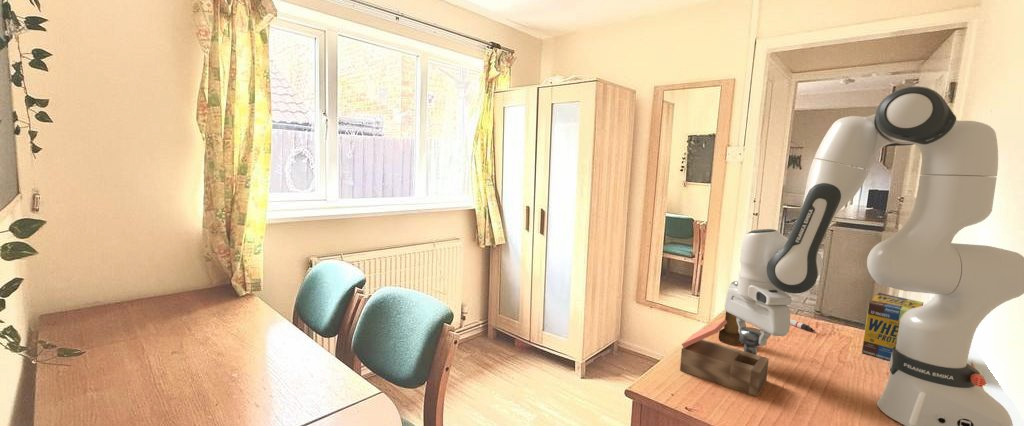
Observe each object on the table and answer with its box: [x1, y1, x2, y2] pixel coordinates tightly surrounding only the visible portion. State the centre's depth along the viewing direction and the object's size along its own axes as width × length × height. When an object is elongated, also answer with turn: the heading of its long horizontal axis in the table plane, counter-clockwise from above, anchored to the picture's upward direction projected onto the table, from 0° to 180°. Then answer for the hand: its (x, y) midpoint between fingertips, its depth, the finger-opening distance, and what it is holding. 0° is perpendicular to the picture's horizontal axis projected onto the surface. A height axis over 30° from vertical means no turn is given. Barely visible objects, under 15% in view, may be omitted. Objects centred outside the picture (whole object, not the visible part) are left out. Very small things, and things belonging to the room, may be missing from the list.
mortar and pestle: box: [718, 311, 743, 346], centre depth 131 cm, size 7×6×18 cm
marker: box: [790, 318, 816, 332], centre depth 147 cm, size 15×2×2 cm, turn 22°
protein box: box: [861, 292, 924, 362], centre depth 126 cm, size 10×15×16 cm
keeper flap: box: [681, 319, 727, 348], centre depth 113 cm, size 10×9×1 cm
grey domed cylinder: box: [739, 326, 762, 355], centre depth 116 cm, size 6×6×8 cm
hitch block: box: [679, 339, 770, 397], centre depth 110 cm, size 18×10×6 cm, turn 49°
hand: (751, 339), depth 116 cm, fingers closed on grey domed cylinder, 6 cm apart
